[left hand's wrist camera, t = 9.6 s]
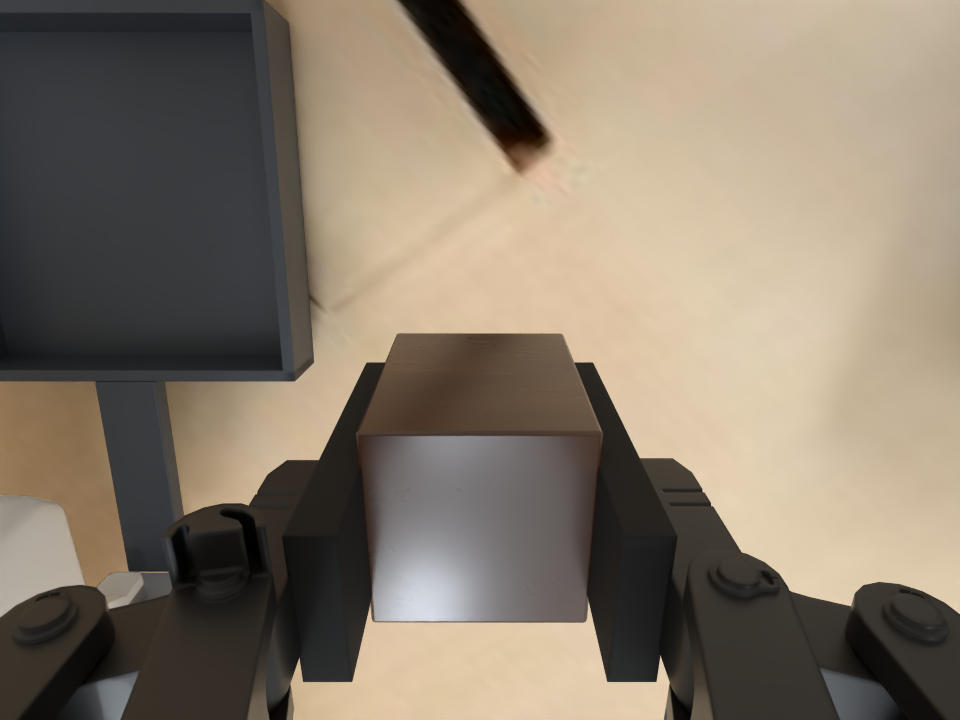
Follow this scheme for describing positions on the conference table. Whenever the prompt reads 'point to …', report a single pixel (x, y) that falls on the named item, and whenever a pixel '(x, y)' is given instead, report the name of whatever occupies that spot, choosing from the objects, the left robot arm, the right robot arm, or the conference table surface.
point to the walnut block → (479, 480)
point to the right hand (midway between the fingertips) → (135, 601)
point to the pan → (149, 220)
